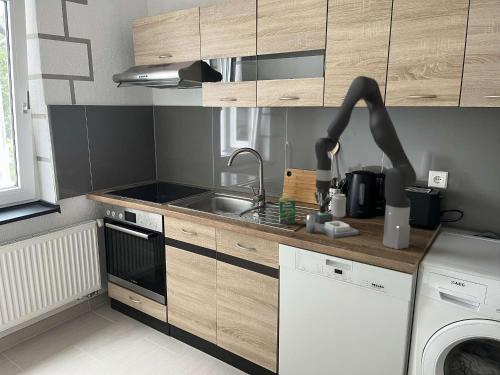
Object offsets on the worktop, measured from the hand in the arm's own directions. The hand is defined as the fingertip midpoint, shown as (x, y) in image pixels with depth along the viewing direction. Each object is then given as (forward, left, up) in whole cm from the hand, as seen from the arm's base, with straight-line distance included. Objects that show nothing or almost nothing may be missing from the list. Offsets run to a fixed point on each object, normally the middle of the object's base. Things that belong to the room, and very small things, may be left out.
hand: (322, 212), depth 182 cm
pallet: (-7, 0, -6) cm, 9 cm away
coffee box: (+7, +16, -6) cm, 18 cm away
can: (+9, -16, -6) cm, 19 cm away
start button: (0, 0, -3) cm, 3 cm away
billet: (-9, +12, -6) cm, 16 cm away
